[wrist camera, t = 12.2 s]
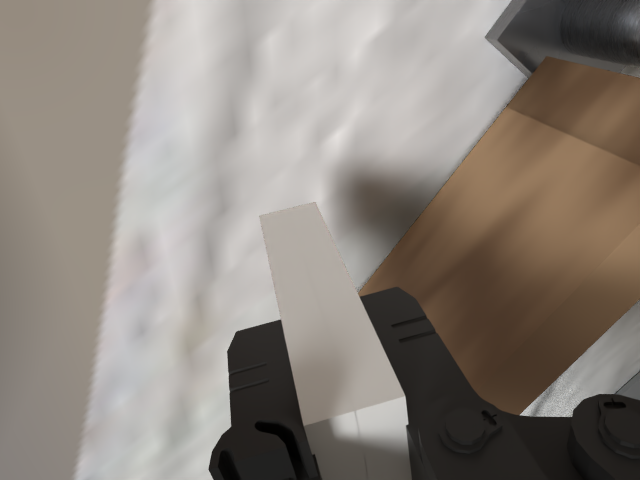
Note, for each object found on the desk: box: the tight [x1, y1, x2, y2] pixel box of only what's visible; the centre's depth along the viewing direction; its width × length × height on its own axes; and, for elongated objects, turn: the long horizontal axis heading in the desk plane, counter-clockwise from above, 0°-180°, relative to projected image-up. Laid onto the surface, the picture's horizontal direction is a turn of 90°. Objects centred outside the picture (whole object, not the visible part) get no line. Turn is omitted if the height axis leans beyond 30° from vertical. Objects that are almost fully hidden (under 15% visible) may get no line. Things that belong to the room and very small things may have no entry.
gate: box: [358, 56, 640, 415], centre depth 14 cm, size 19×4×9 cm, turn 145°
